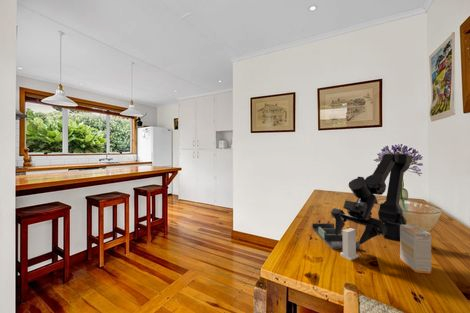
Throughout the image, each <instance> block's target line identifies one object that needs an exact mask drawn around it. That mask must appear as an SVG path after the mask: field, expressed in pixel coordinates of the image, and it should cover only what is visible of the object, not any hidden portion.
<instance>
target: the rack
mask: <svg viewBox="0 0 470 313" xmlns="http://www.w3.org/2000/svg"><path fill="white" fill-rule="evenodd" d="M311 229H312V230H313V231H314V232H315V234H316V235H318V236H319V238H321V240H322V241H324V242H325V243H326V245H328V247H329V248H330V249H332V250H343V232H342V230H341V231H340V232H339V234H338V235H336V234H335V223H334V222H331V223H329V222H326V223H325V222H324V223H323V222H322V223H318V222H317V223H313V222H312V223H311ZM360 245H361V244H359V241H356V250H360V249H361V248H360Z"/></svg>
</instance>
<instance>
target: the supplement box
mask: <svg viewBox="0 0 470 313" xmlns="http://www.w3.org/2000/svg"><path fill="white" fill-rule="evenodd" d="M399 246H400V247H399V249H400V250H399V251H400V252H399V256H400V257H399V260H400V261H401V262H402V263H404V264H405V265H406V266H407V267H408V268H410V270H412V271H414V273H416V274H428V275H432V233H430V232H429V231H427V230H425V229H422V228H421V227H418V226H416V225H414V224H406V225H400V241H399Z"/></svg>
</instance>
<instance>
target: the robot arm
mask: <svg viewBox="0 0 470 313" xmlns="http://www.w3.org/2000/svg"><path fill="white" fill-rule="evenodd" d="M412 161H413V158H412V155H409V154H408V153H405V152H403V153H402V152H401V153H398V152H397V153H383V154H382V157H381V160H380V161H379V163H378V165H377V167H376V168H375V170H374V171H373V173H372V174H371V175H368V176H367V177H365V178H364V177H363V176H357V178H354V179H352V180H350V181H349V183H348V188H349V189H350V191H351V192H352V195H354V197H356V198H357V200H356V201H351V200H346V199H345V200H344V203H343V207H342V209H339V208H336V207H334V208H332V209H331V211H330V214H331V216H332V217H333V218H334V219H335V226H334V228H335V234H336V235H338V234H339V232H340V231H341V232H342V231H343V229H344V227H345V226H346V222H347V221H350V222H354V223H357V224H361V225H365V227H364V231H363V233H362V235H361V236H360V239H359V241H358V242H359V244H360V245H363V244H364V243H366V242H367V241H369V240H371V239H373V238H375V237H377V236H379V237H380V236H381V235H382V236H383V238H384V239H387V240H393V241H397V242H400V225H407V222H408V221H407V219H406V218H405V215H404V214H403V213H404V211H403V209H402V206H401V205H400V201H401V200H400V199H401V194H402V186H403V180H404V174H405V173H406V171H408V170H409V169H410V166H411V164H412ZM388 176H389V178H388ZM387 178H388V186H387V185H386V180H387ZM386 191H387V192H386ZM385 192H386V198H385V201H383V202H382V203H380V204H379V210H378V212H377V215H378V218H375V217H371V218H369V220H367V218H368V216H369V215H371V216H372V215H373V213H372V210H373V208H374V206H375V204H376V205H378V199H377V197H376V195H377V196H382V195H383V194H384V193H385ZM343 209H345V210H346V212H347V213H345V212H344V210H343ZM348 213H349V214H350V215H349V214H348Z"/></svg>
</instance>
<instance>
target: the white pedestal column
mask: <svg viewBox="0 0 470 313" xmlns="http://www.w3.org/2000/svg"><path fill="white" fill-rule="evenodd" d="M342 234H343V249H342V252H340V253H339V255H340V257H342V258H344V259H347V260H348V261H352V260H355V259H357V258H359V253H357V249H356V242H357V241H356V240H357V236H356V235H357V229H355V228H352V227H349V228H346V229H342Z"/></svg>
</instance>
